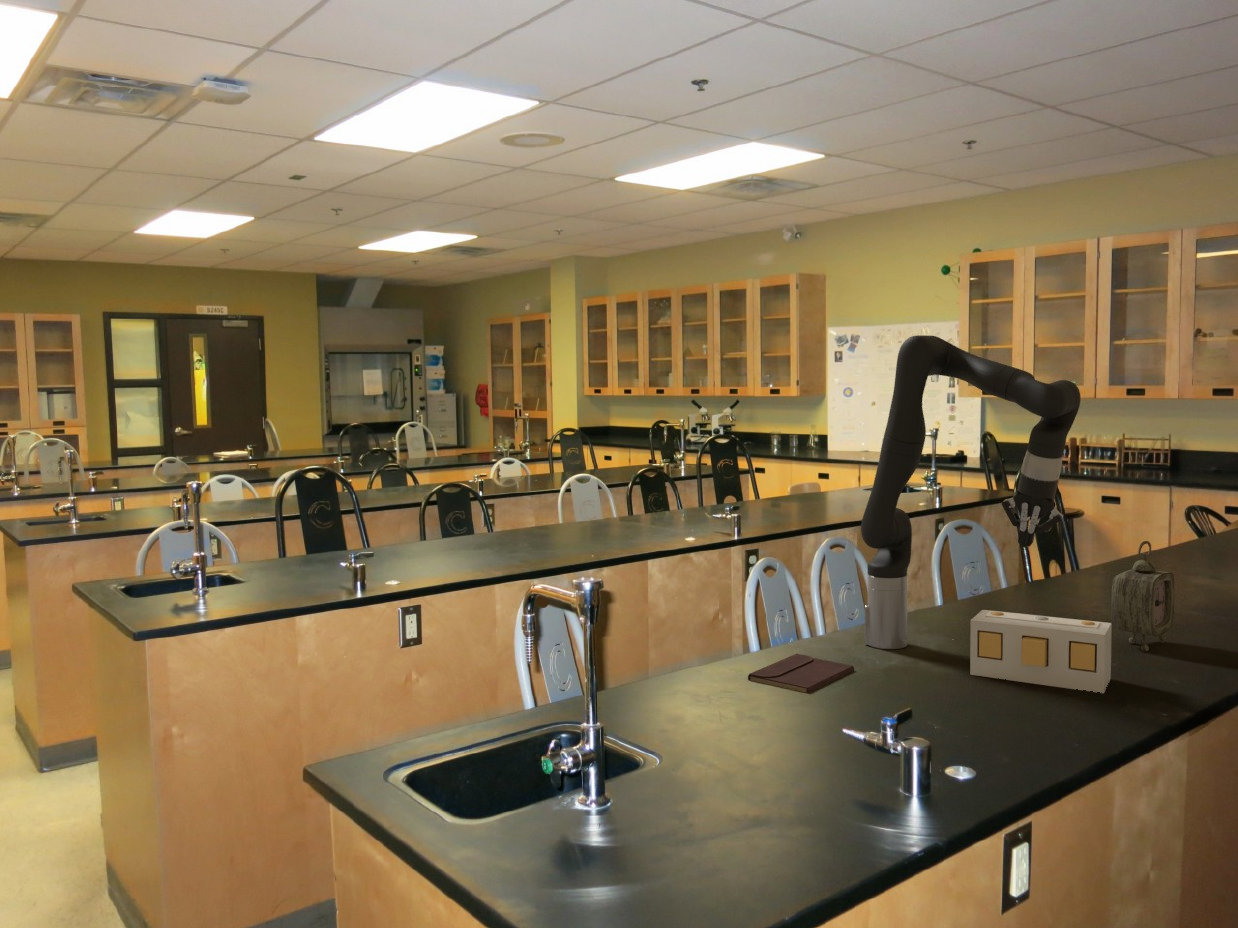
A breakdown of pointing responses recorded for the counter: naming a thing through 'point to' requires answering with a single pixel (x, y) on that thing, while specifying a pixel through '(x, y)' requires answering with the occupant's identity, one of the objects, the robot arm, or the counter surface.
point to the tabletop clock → (1143, 600)
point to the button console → (1058, 650)
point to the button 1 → (991, 644)
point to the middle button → (1034, 651)
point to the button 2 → (1083, 655)
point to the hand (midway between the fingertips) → (1024, 546)
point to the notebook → (801, 673)
